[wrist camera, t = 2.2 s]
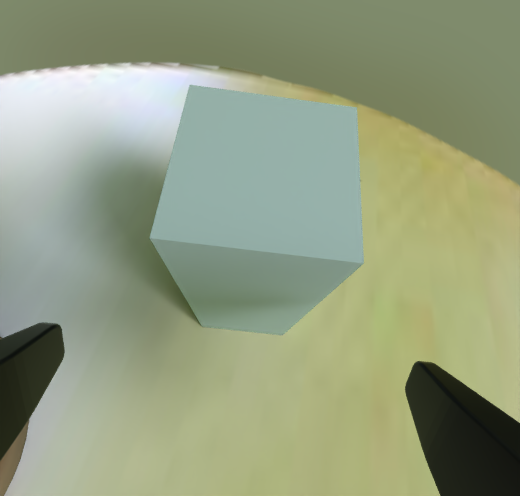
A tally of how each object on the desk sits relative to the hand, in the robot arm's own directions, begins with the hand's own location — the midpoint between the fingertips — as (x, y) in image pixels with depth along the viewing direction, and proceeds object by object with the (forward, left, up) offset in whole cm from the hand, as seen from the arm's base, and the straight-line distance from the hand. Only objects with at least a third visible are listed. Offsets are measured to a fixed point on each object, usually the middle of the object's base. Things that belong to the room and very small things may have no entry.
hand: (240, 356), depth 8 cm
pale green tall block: (0, -5, -11) cm, 12 cm away
